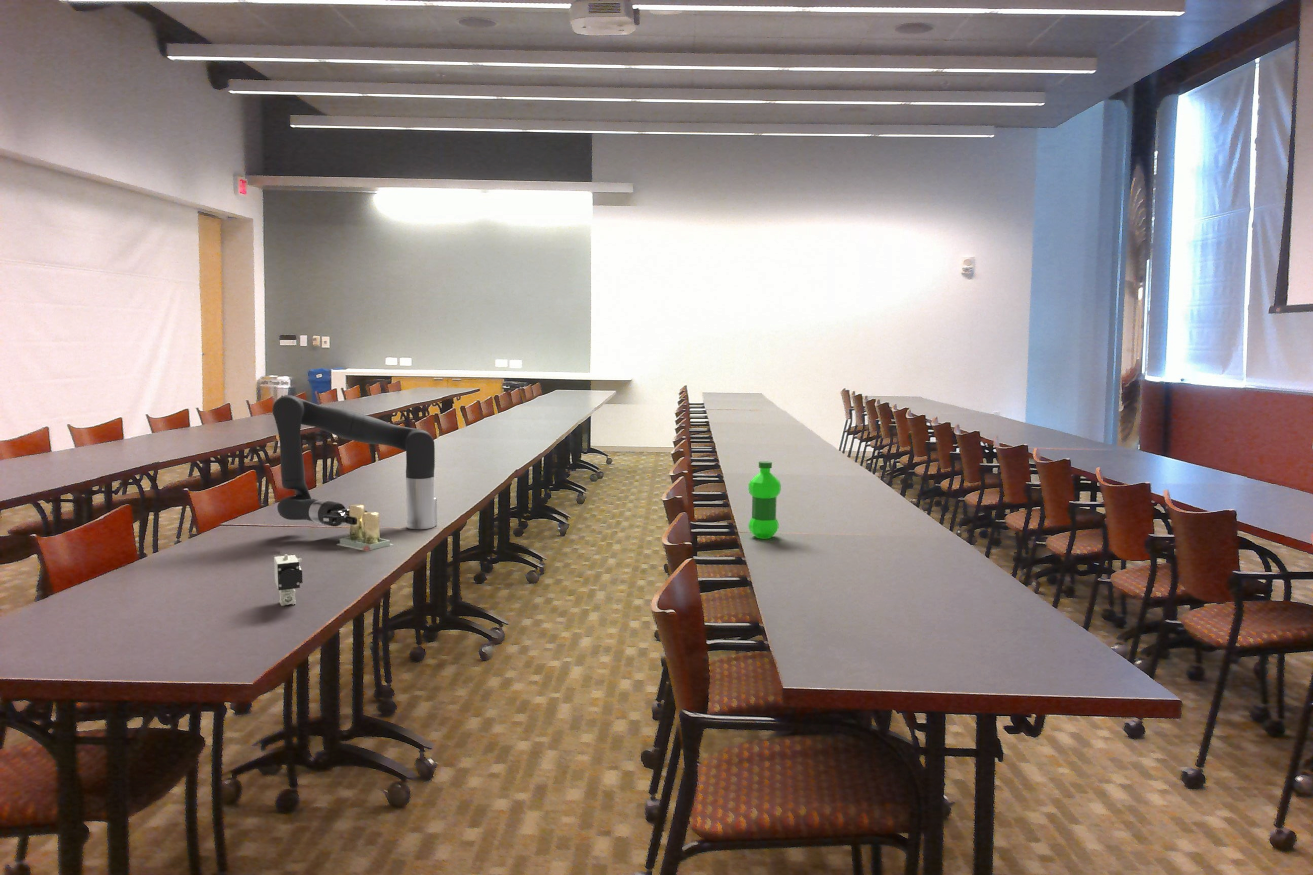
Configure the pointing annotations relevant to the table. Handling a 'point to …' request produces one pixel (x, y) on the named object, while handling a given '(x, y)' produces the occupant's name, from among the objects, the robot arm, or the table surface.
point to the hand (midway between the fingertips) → (363, 519)
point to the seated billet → (371, 527)
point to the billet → (357, 529)
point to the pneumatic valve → (287, 577)
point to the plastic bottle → (764, 502)
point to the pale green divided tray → (363, 544)
